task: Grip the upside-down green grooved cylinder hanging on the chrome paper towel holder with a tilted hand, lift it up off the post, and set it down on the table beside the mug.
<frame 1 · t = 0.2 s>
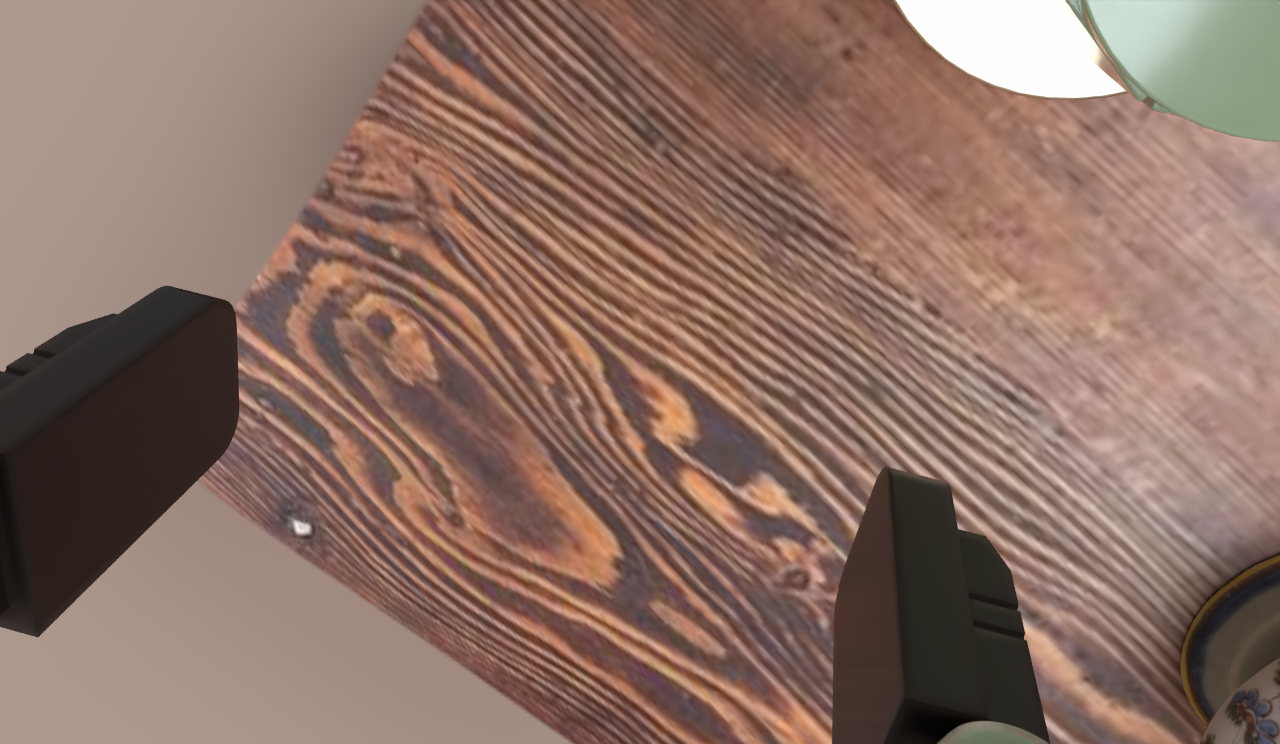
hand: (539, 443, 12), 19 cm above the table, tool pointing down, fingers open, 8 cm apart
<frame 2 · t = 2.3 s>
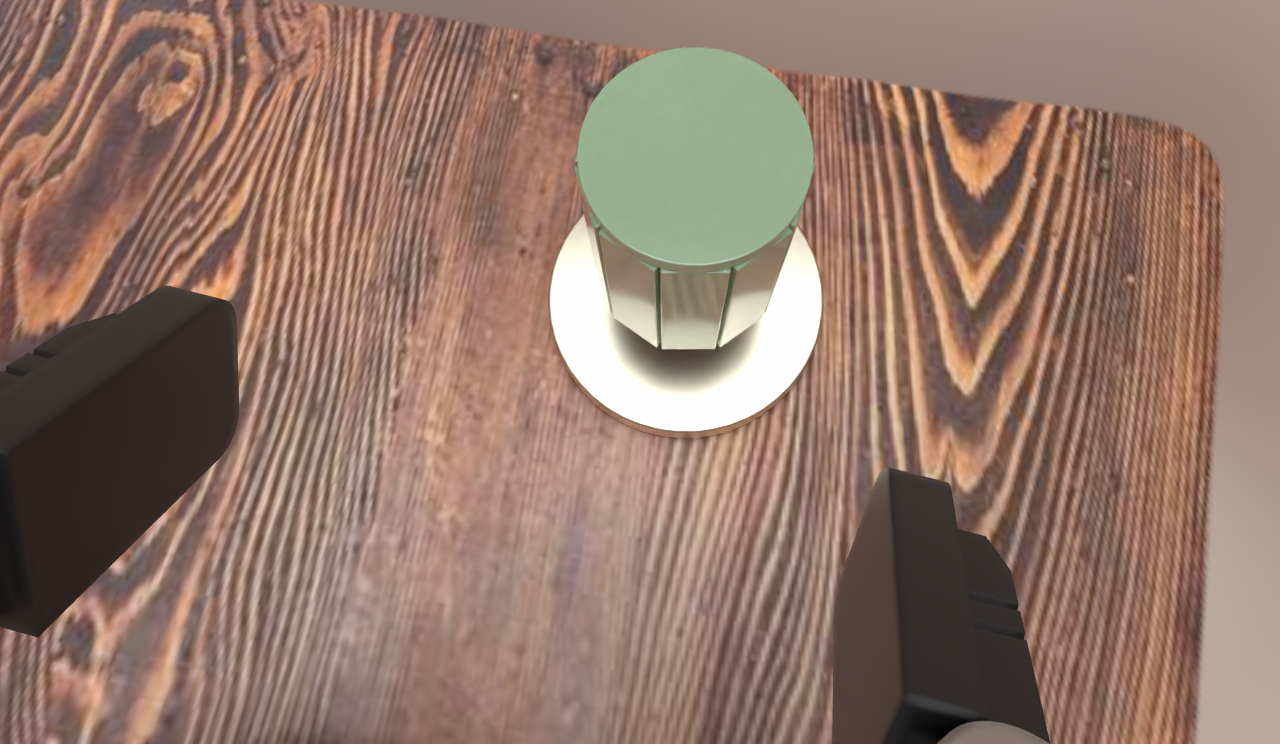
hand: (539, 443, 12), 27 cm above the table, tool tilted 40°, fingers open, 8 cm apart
green grooved cylinder: (687, 262, 35), point 6 cm above the table, touching towel holder
towel holder: (684, 307, 41), on the table
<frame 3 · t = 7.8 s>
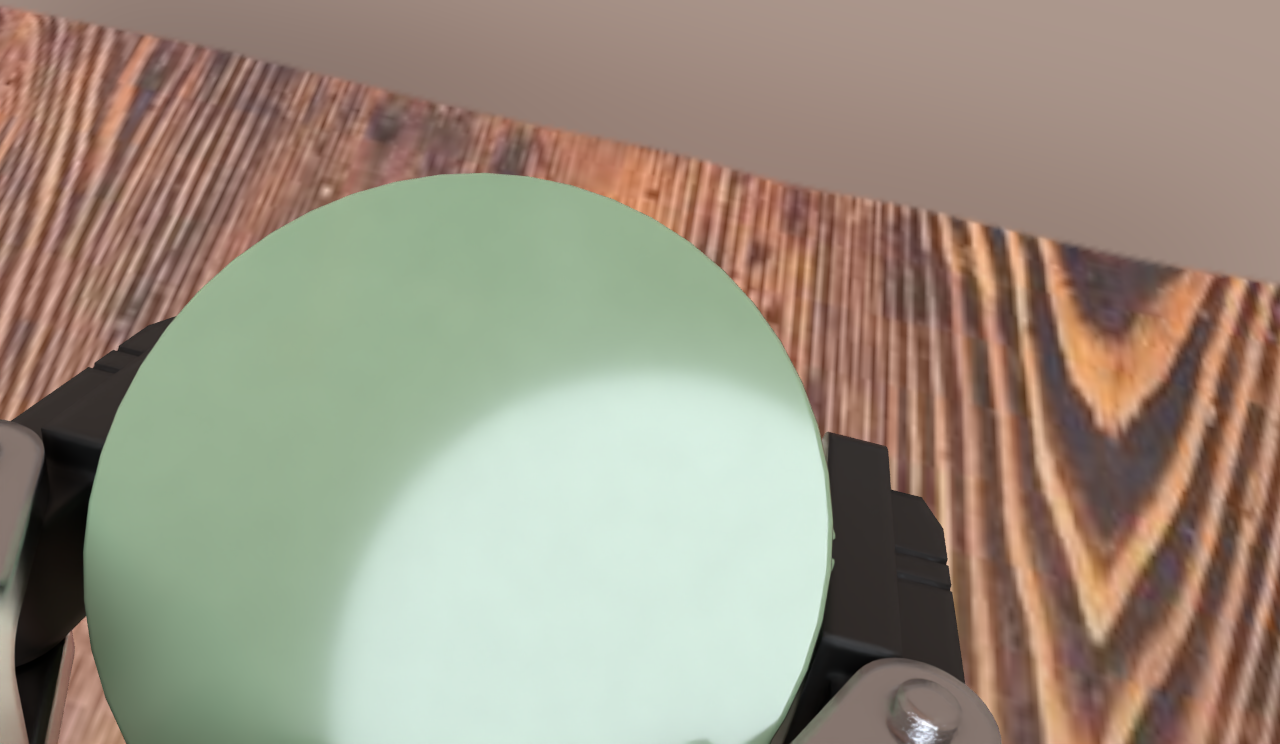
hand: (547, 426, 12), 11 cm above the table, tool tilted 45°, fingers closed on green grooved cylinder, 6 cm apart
green grooved cylinder: (555, 582, 17), point 6 cm above the table, touching gripper, towel holder
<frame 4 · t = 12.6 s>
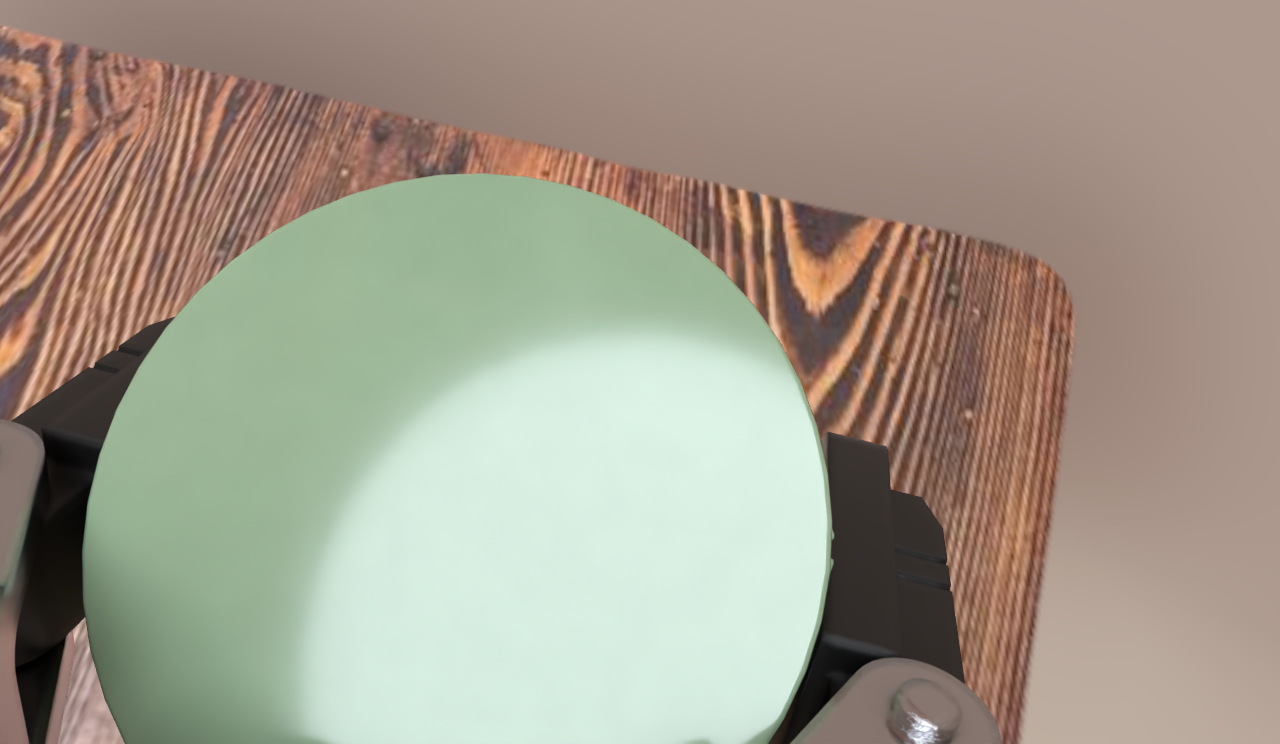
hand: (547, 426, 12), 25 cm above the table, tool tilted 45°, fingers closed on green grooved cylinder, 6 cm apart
green grooved cylinder: (554, 581, 17), point 20 cm above the table, touching gripper
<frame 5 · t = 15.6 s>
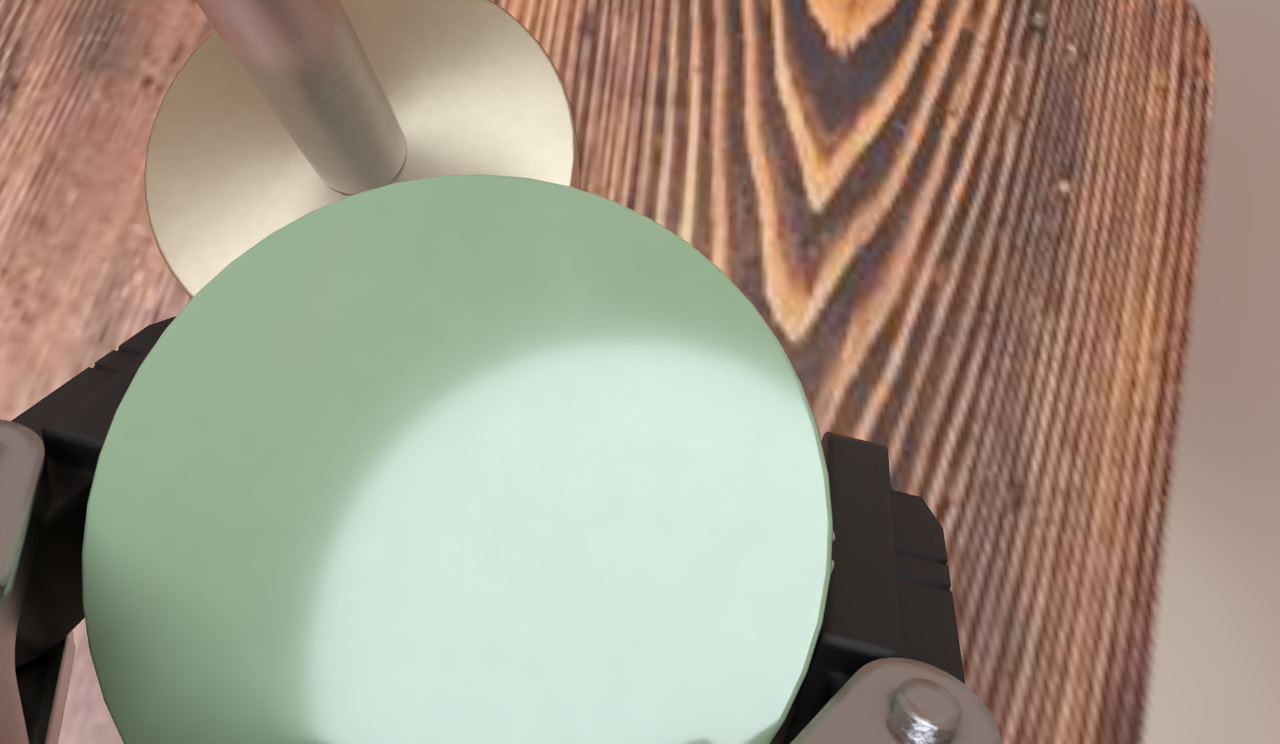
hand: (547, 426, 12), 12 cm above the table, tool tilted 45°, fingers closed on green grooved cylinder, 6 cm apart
green grooved cylinder: (554, 582, 17), point 7 cm above the table, touching gripper
towel holder: (375, 179, 26), on the table
when the fingers open (5 cm above the table, at t = 17.8 s): green grooved cylinder stays where it is, on the table.
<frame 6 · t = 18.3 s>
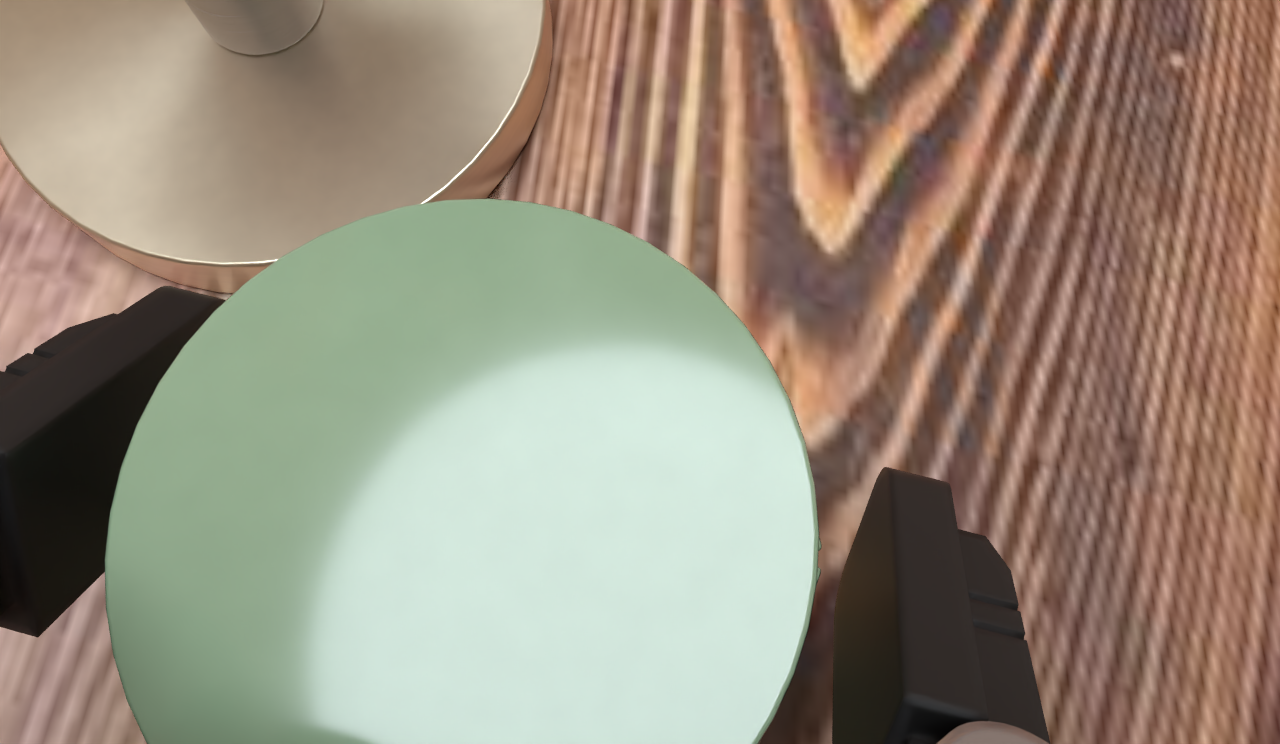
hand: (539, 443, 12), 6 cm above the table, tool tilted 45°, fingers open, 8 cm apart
green grooved cylinder: (551, 586, 17), on the table
towel holder: (289, 47, 20), on the table
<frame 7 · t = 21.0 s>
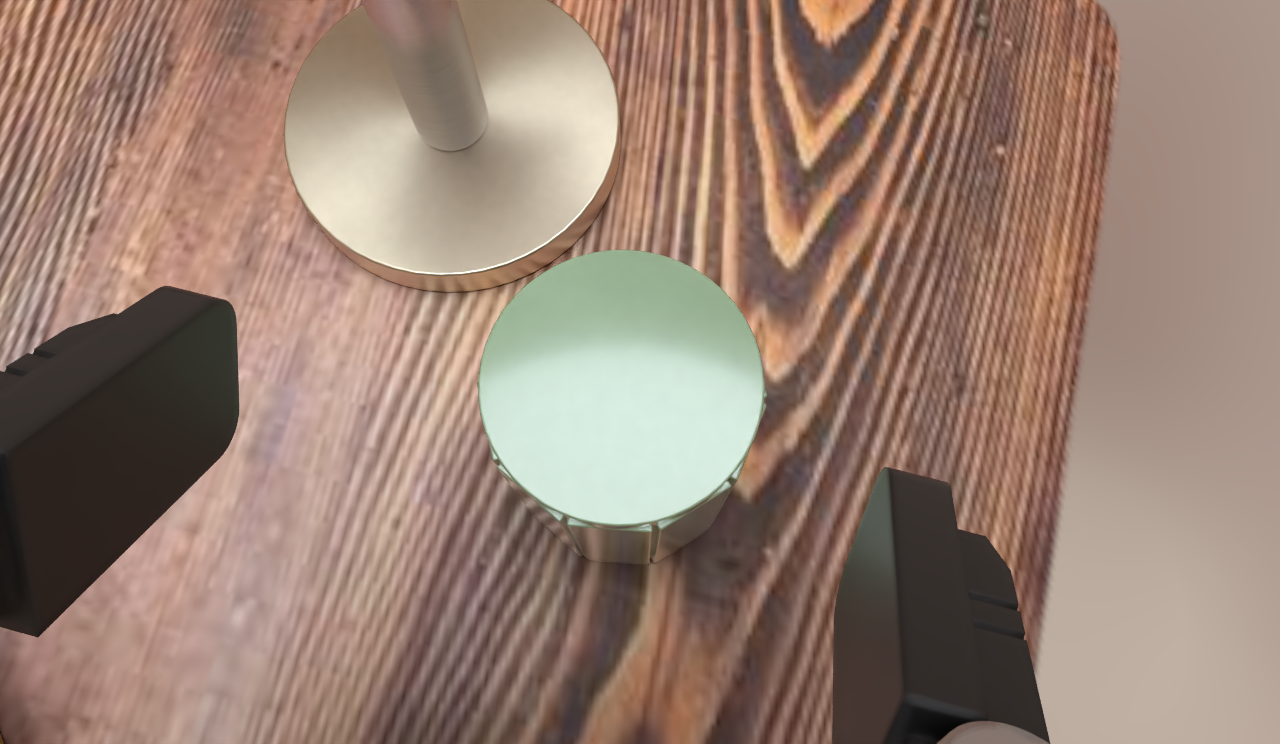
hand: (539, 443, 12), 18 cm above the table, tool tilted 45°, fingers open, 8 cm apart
green grooved cylinder: (626, 458, 31), on the table
towel holder: (459, 141, 34), on the table
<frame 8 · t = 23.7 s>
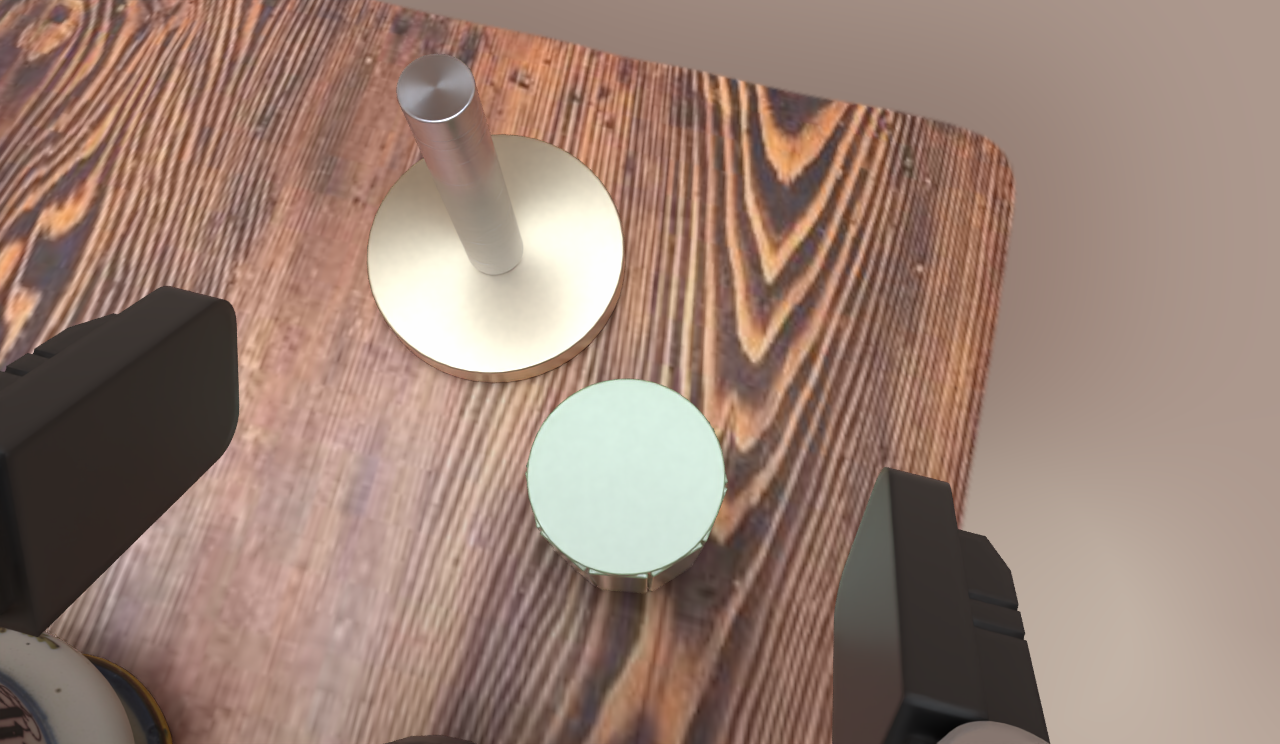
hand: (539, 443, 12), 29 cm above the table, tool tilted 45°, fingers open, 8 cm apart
green grooved cylinder: (629, 512, 40), on the table
towel holder: (500, 262, 43), on the table
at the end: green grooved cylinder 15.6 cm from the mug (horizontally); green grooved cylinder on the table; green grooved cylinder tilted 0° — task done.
